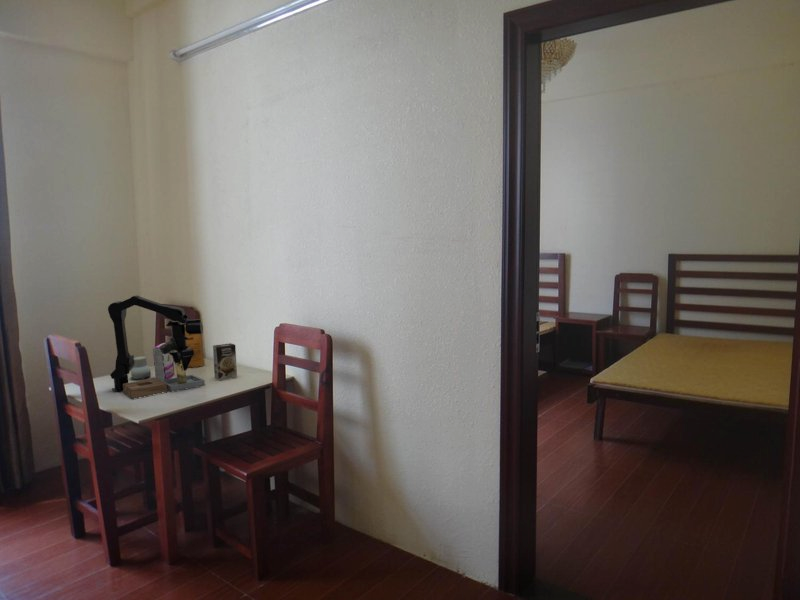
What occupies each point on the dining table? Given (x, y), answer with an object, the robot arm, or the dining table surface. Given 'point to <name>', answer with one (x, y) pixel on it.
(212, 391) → the dining table surface
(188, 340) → the coffee package
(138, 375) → the air freshener
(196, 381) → the tray
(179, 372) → the pin
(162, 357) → the candy bar box
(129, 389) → the hitch block
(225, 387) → the dining table surface
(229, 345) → the coffee box
